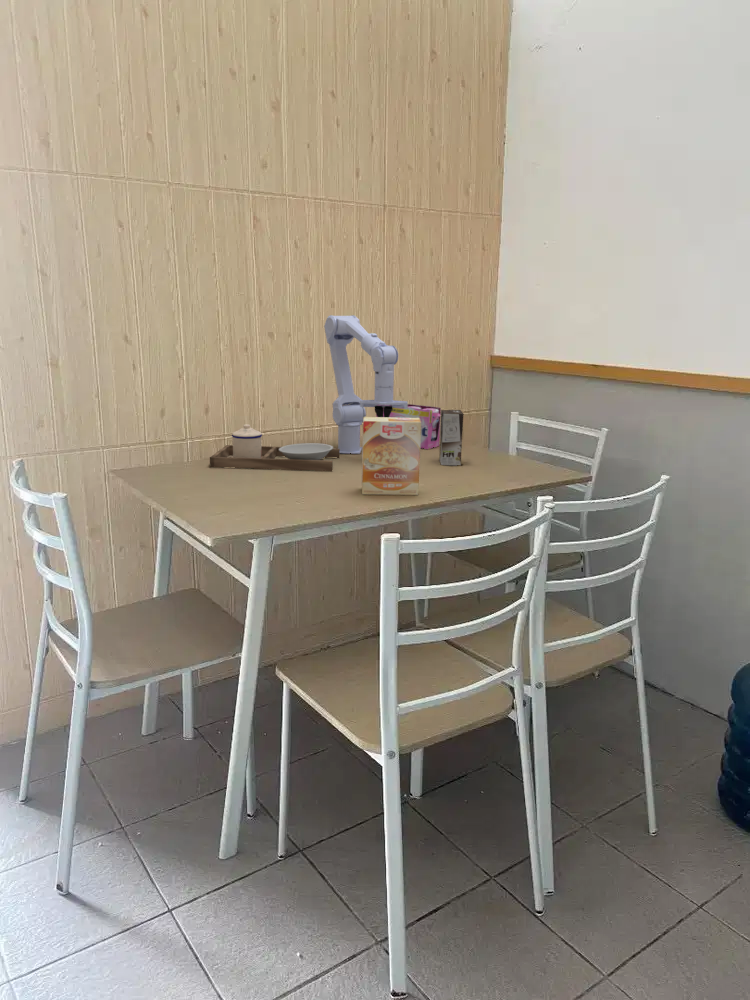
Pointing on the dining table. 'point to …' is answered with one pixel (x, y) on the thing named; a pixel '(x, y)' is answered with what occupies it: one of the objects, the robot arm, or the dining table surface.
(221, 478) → the dining table surface
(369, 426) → the coffeecake box
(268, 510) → the dining table surface
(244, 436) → the teacup with lid
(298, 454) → the dish
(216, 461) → the caddy
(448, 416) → the coffee box
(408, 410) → the gum box
